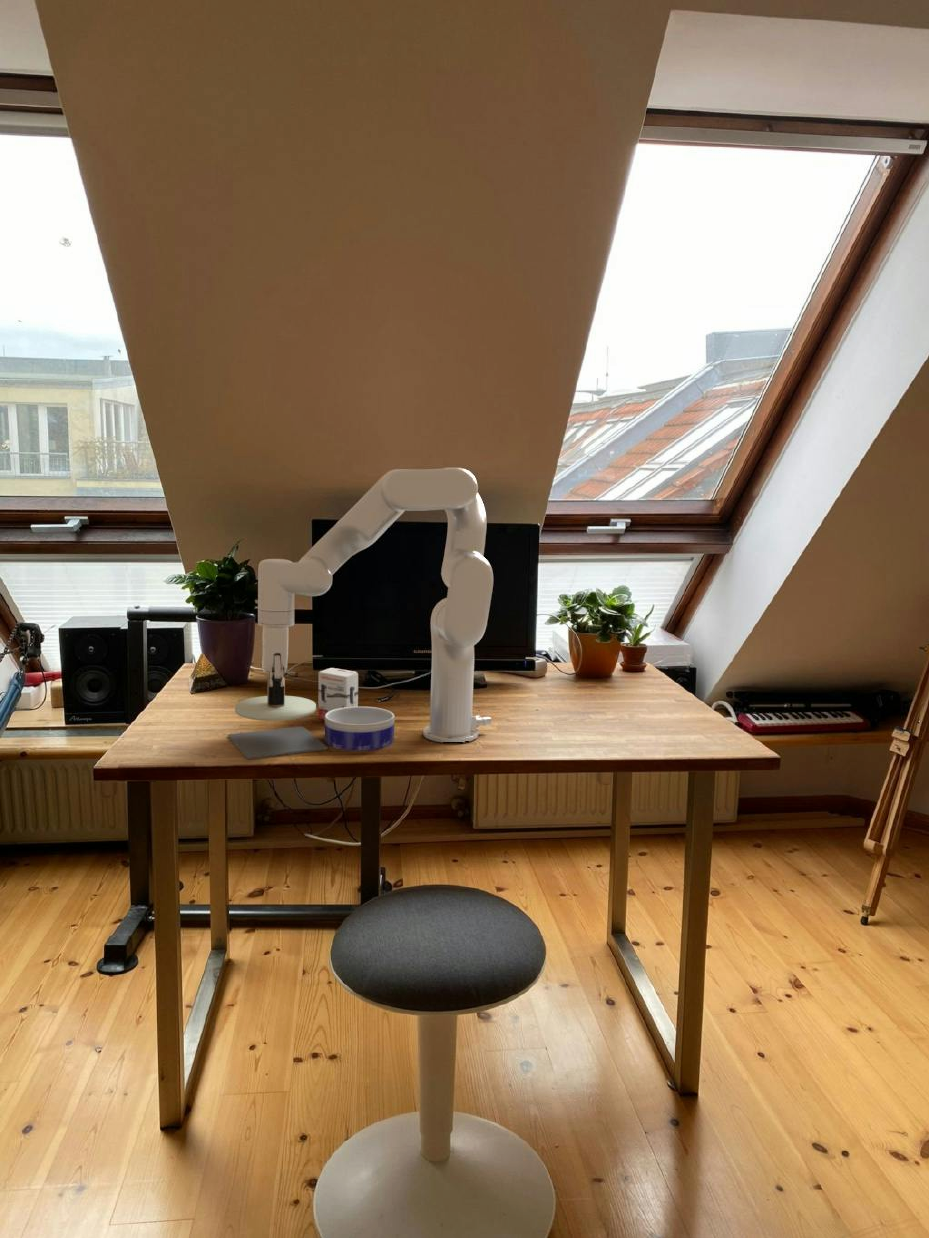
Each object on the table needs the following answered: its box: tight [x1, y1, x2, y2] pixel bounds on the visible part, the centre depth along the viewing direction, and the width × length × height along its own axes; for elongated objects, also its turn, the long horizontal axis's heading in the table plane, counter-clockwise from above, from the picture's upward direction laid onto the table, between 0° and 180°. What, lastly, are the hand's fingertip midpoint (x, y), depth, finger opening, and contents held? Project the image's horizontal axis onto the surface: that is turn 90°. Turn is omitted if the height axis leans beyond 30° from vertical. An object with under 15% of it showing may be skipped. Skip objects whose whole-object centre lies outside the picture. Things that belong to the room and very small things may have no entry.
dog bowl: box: [324, 706, 396, 752], centre depth 190 cm, size 15×15×6 cm
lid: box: [234, 676, 317, 722], centre depth 185 cm, size 17×17×7 cm
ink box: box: [317, 667, 359, 721], centre depth 206 cm, size 8×5×12 cm, turn 60°
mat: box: [227, 725, 328, 760], centre depth 187 cm, size 17×17×1 cm
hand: (275, 701), depth 186 cm, fingers closed on lid, 3 cm apart
